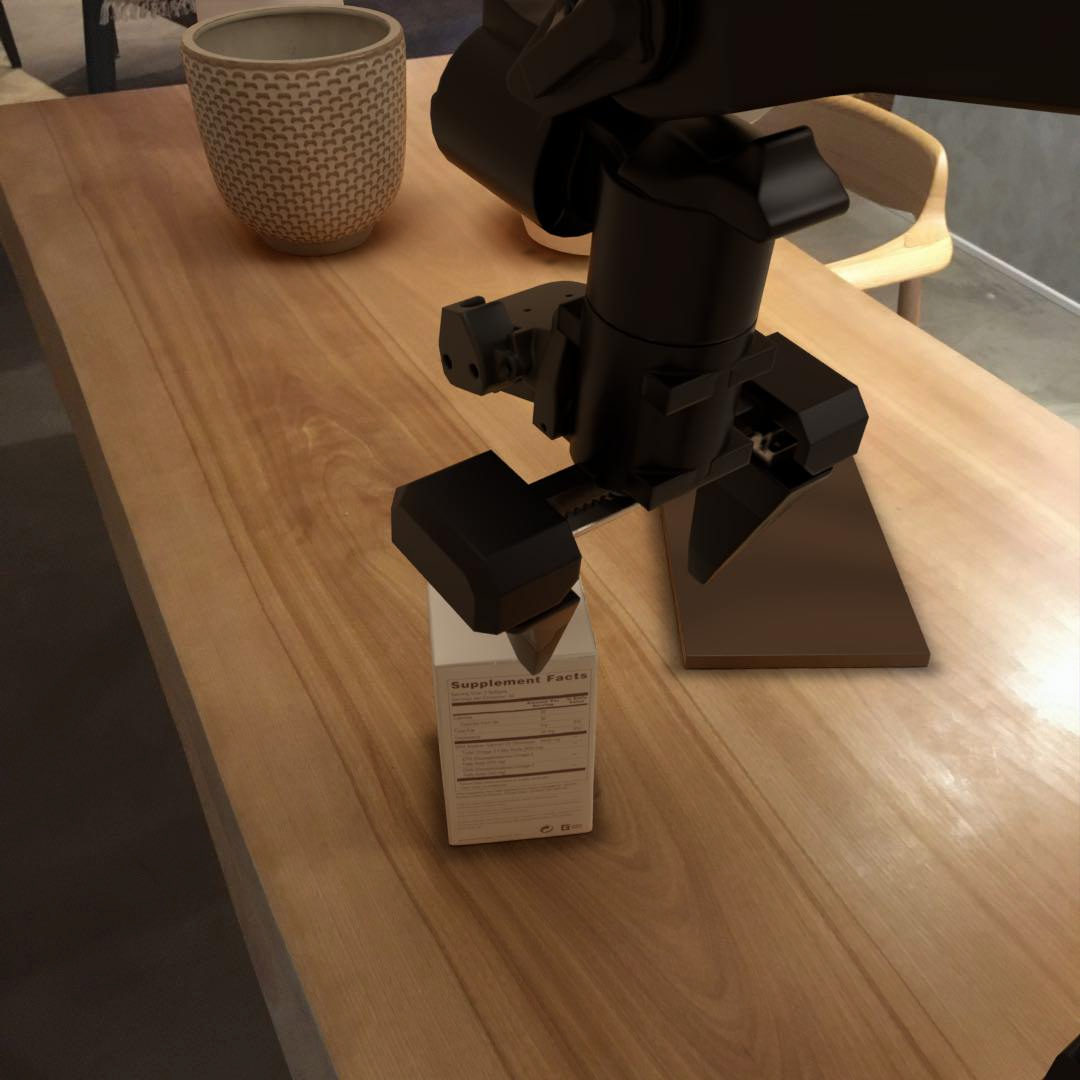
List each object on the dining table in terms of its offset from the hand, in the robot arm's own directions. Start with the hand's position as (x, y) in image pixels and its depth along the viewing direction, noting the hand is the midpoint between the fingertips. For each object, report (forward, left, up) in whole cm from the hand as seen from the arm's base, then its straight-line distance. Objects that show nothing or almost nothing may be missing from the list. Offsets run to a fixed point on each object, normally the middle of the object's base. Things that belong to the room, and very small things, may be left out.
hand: (617, 620), depth 49 cm
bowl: (+57, -45, -15) cm, 75 cm away
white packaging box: (+5, +2, -15) cm, 16 cm away
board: (+15, -26, -15) cm, 34 cm away
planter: (+73, -23, -15) cm, 78 cm away
